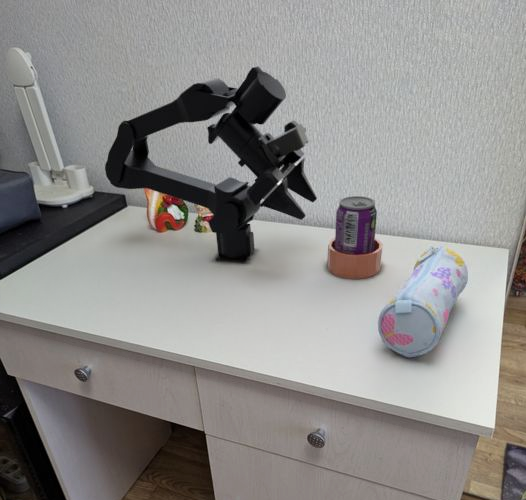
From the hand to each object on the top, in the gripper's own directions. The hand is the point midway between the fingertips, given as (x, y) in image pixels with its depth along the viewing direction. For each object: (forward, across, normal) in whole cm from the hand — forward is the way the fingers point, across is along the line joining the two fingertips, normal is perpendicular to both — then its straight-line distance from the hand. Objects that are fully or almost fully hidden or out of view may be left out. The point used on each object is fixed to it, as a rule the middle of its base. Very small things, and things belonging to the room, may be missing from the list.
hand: (309, 208), depth 89 cm
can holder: (+14, 0, +2) cm, 14 cm away
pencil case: (+23, -18, -8) cm, 30 cm away
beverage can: (+13, 0, +1) cm, 13 cm away
